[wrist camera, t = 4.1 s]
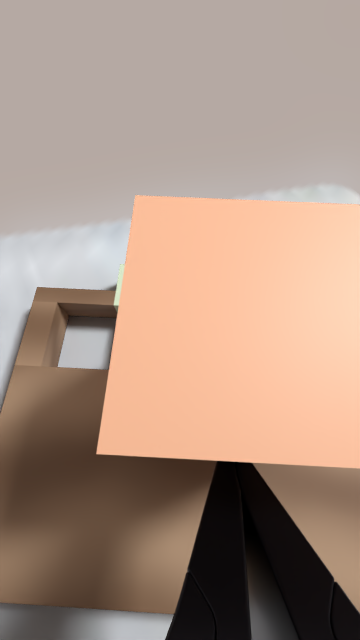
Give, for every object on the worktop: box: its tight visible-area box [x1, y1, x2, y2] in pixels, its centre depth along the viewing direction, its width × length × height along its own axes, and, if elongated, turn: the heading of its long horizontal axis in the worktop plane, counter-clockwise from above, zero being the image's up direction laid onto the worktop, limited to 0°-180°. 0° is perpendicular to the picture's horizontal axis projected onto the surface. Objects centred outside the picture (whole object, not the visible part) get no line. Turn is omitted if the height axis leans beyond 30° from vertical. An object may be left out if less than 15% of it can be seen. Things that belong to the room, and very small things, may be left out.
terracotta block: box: [96, 195, 360, 468], centre depth 10 cm, size 6×6×10 cm
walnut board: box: [0, 287, 360, 614], centre depth 15 cm, size 15×22×2 cm
